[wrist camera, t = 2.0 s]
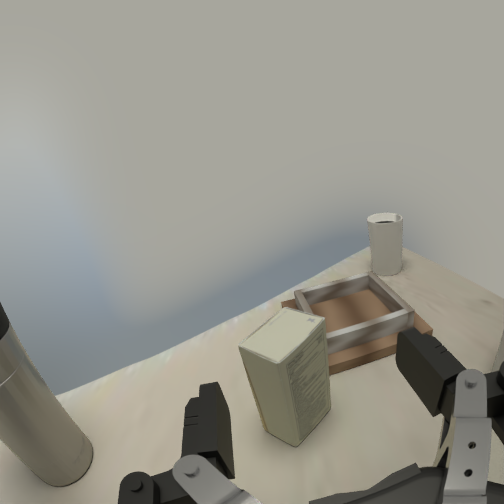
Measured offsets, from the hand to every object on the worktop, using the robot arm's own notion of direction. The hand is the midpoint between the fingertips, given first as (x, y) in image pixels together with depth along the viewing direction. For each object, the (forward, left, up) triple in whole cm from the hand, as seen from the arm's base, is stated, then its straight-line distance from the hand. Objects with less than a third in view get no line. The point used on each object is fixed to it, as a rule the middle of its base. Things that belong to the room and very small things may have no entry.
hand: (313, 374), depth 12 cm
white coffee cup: (+24, +37, -17) cm, 47 cm away
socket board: (+11, +24, -17) cm, 31 cm away
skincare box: (0, +10, -17) cm, 20 cm away
